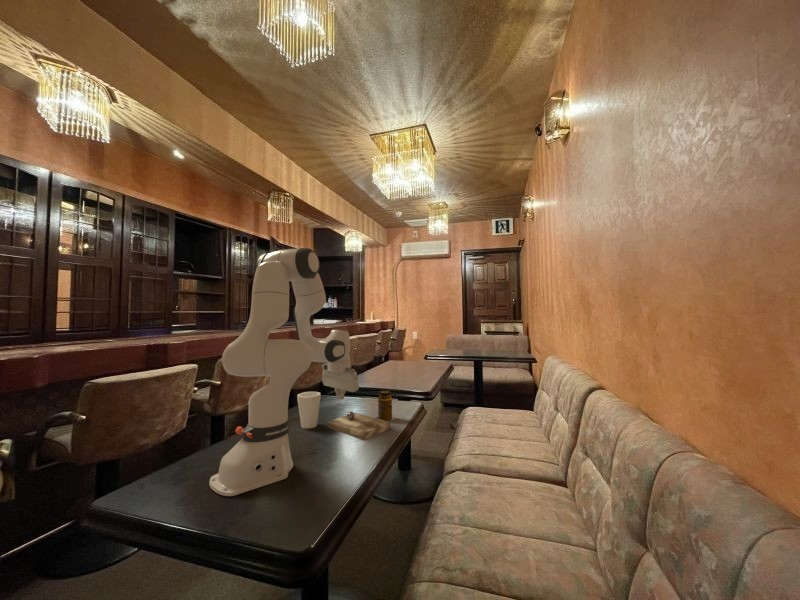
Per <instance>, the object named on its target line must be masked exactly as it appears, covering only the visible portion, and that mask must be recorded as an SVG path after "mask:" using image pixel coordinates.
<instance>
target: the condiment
mask: <svg viewBox="0 0 800 600" xmlns="http://www.w3.org/2000/svg"><path fill="white" fill-rule="evenodd" d="M377 399H378V400H377V404H378V405H377V408H378V409H377V410H378V411H377V412H378V413H377V414H378V416H377V417H376V418H377V419H380V420H384V421H387V422H391V421H395V420H396V418H395V417H393V398H392V391H390V390H380V391H379V392H378V398H377Z"/></svg>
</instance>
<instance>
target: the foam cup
mask: <svg viewBox="0 0 800 600" xmlns="http://www.w3.org/2000/svg"><path fill="white" fill-rule="evenodd" d="M296 396H297V397H296V398H297V405H298V406H297V407H298V414H299V418H300V419H299V420H300V426H301V428H302V429H307V430H309V429H314V428H315V427H317V426H318V419H319V412H320V404H321V399H322V398H321V397H322V396H321V392H318V391H306V392H305V391H303V392H301V393H298V394H297V395H296Z"/></svg>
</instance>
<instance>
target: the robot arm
mask: <svg viewBox="0 0 800 600" xmlns="http://www.w3.org/2000/svg"><path fill="white" fill-rule="evenodd" d="M319 270H320V258H319V257H318V254H317V253H316V252H315V251H314V250H313V249H312V248H309V247H300V248H288V249H287V248H286V249H279V250H274V251H272V252H271V251H269V252H268V251H267V252H266V253H265V252H264V253H262V254H261V255H260V256H259V257H258V259H257V261H256V269H255V272H254V273H255V274H254V278H253V283H252V289H251V304H250V305H251V306H250V313H249V319H248V322H247V323H246V326H245V328H244V330H243V331H242V332H241V333H240V335H239V336H238V337H236V339H235V340H233V341H232V342H231V343H229V344H228V345H227V346H226V348H225V349H224V351H223V352H222V355H221V364H222V366H223V367H222V368H223V369H224V371H225V373H227V374H228V375H230V376H235V377H243V378H244V377H246V378H249V377H251V378H252V377H269V382H268V383H267V384H266V385H264V386H262V387H261V388H259V389H257V390H256V391H254V392H253V393H252V394H251V395H250V397H249V399H248V423H247V424H246V426H245V427H242V426H240V425H239V426H237V427H236V428H235V429H234V430H235V433H236V434H238V436H241V439H240V440H239V441H238V442H237V443H236V444H234V446H233V447H232V448H231V449H230V450H229V451H228V452H227V453H226V454H224V455H223V456H222V457H221V460H220V462H219V468H218V473H216V474H213V475H211V476H210V479H209V483H208V484H209V487H210V489H211V490H212V491H214V492H215V493H216V494H218V495H221V496H223V497H224V496H225V497H234V496H237V495H240V494H244V493H246V492H249V491H252V490H256V489H259V488H261V487H265V486H268V485H271V484H273V483H276V482H280V481H282V480H285V479H287V478H288V477H289V473H290V471H291V470H292V469H293V467H294V462H293V458H292V455H291V450H290V442H289V436H290V435H289V434H290V418H289V417H288V415H289V413H288V411H289V397H290V393H291V389H292V388H293V385H294V384H295V382H296V381H297V379H298V378H299V377H300V376H301V375H303V374H304V373H305V372H306V371H307V370H308V369H309V368H310V366H311V363H314V362H315V363H324V364H322V366H321V369H322V384H323V386H326V387H330V388H334V392H335V394H336V395H335V396H336V399H338V400H344V399H345V394H346V392H351V393H355V392H357V391H359V389H360V385H359V377H358V373H357V370H356V369H354V368H351V356H350V353H351V338H350V334H349V333H350V332H349V331H348V330H346V329H339V328H333V329H331V331H330V334H328V336H327V337H325V338H319V337H315V336H313V334H312V328H311V321H310V319H311V316H312V315H314V314H317V313H318V312H319V311H321V310H322V309H323V308H324V306H325V304H326V302H327V297H326V296H327V295H326V292H325V288H324V284H323V282H322V279H321V276H320V273H319ZM290 282H291V285H292V290H293V294H294V296H295V297H294V298H295V302H296V303H295V306H294V308H293V318H294V319H293V320H294V325H295V330H296V337H297V339H292V338H289V339H288V338H284V339H283V338H282V339H281V338H279V339H275V338H274V339H269V335H270V333H271V332H272V331H273V330H276V329H278V328H280V327H282V326H284V324H286V323H287V322H288V320H289V317H290Z"/></svg>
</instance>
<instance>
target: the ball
mask: <svg viewBox="0 0 800 600" xmlns="http://www.w3.org/2000/svg"><path fill="white" fill-rule="evenodd" d="M354 413H355V412H353V411H348V412H347V414H346V415H347V418H348V419H349V420H352V419H353V418H354V416H355V414H354Z"/></svg>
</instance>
